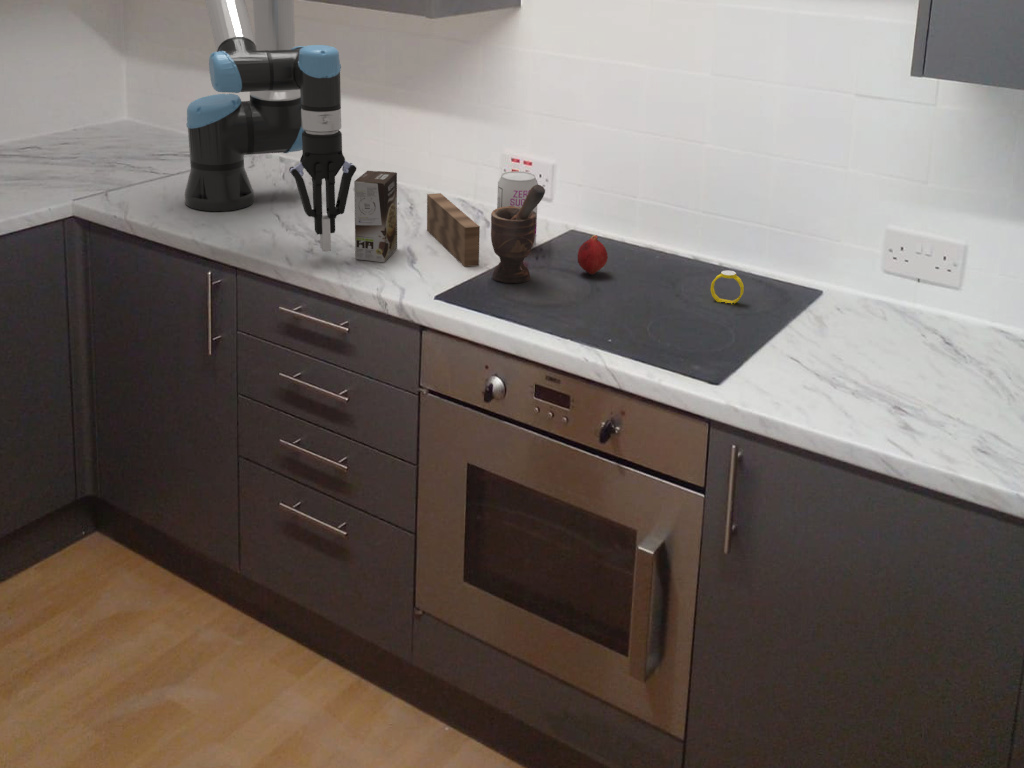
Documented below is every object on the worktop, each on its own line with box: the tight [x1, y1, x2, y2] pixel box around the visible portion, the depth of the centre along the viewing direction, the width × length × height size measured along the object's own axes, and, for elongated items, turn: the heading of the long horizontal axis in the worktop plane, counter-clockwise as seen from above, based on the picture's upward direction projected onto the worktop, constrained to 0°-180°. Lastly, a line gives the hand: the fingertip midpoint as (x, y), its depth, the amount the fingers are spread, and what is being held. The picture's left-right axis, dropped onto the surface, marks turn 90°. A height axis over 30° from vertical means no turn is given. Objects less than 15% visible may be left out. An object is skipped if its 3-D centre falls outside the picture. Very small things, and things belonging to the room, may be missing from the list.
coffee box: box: [353, 170, 398, 263], centre depth 243 cm, size 9×6×16 cm
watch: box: [710, 270, 745, 305], centre depth 228 cm, size 6×3×6 cm, turn 69°
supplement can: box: [496, 170, 539, 249], centre depth 251 cm, size 8×8×15 cm
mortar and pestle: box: [490, 184, 546, 284], centre depth 232 cm, size 12×9×20 cm
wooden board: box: [426, 192, 481, 267], centre depth 250 cm, size 24×3×8 cm, turn 22°
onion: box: [577, 234, 608, 275], centre depth 239 cm, size 6×6×8 cm
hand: (325, 248), depth 242 cm, fingers closed
